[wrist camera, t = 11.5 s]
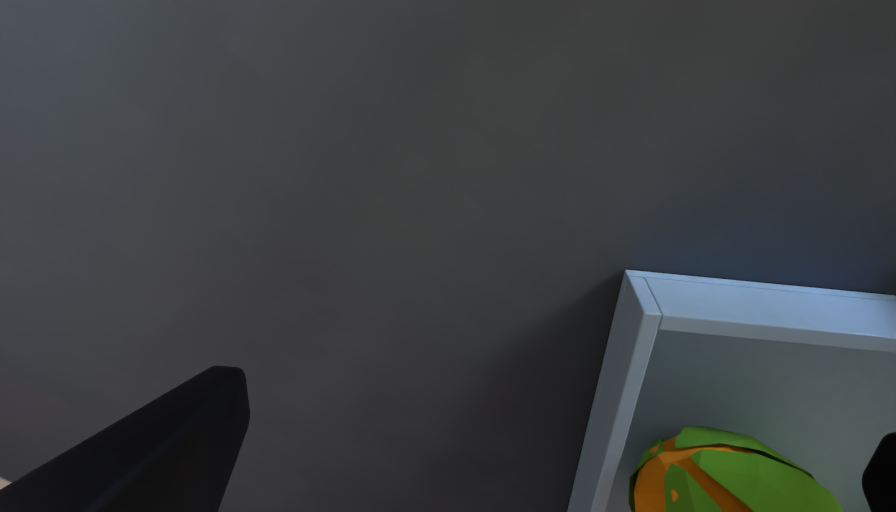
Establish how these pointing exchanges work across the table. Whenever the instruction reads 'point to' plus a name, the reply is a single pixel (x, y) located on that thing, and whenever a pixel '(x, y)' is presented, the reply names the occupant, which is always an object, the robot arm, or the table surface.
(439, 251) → the table surface
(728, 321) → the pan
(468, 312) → the table surface
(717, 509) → the corn
